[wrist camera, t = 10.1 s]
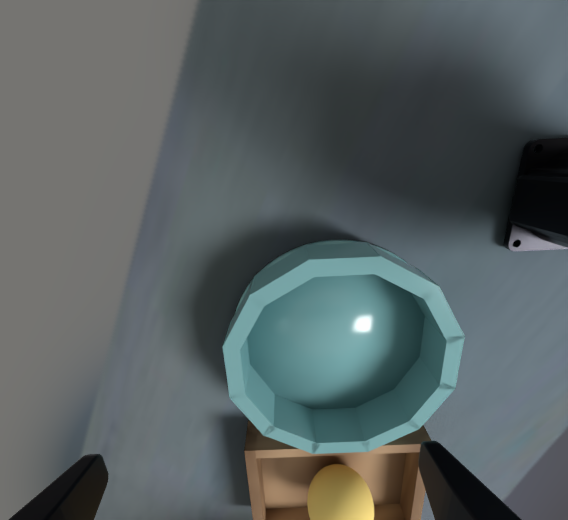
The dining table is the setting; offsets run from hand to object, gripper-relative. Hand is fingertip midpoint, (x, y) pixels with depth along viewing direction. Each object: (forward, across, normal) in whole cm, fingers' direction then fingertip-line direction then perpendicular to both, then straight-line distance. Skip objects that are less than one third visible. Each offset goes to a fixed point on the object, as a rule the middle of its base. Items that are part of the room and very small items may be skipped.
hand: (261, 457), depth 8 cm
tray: (+12, -4, +17) cm, 21 cm away
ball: (+9, -4, +17) cm, 20 cm away
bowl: (+12, -4, +4) cm, 13 cm away
